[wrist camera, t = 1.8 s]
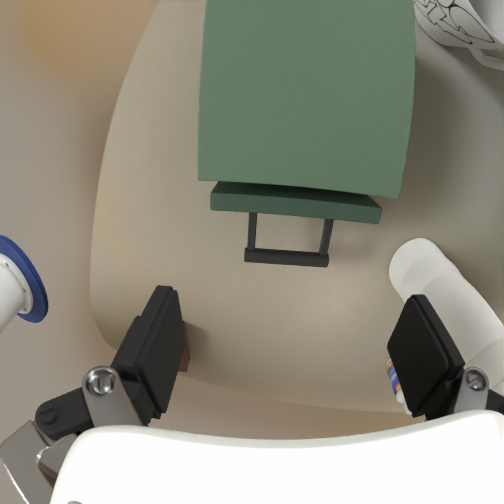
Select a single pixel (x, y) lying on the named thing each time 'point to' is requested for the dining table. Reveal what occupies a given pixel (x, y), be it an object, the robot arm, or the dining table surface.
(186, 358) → the brown banded block
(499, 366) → the water bottle
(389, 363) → the pill bottle
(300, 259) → the drawer
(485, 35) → the mug
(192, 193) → the dining table surface
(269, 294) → the dining table surface
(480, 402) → the robot arm
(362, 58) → the cabinet
